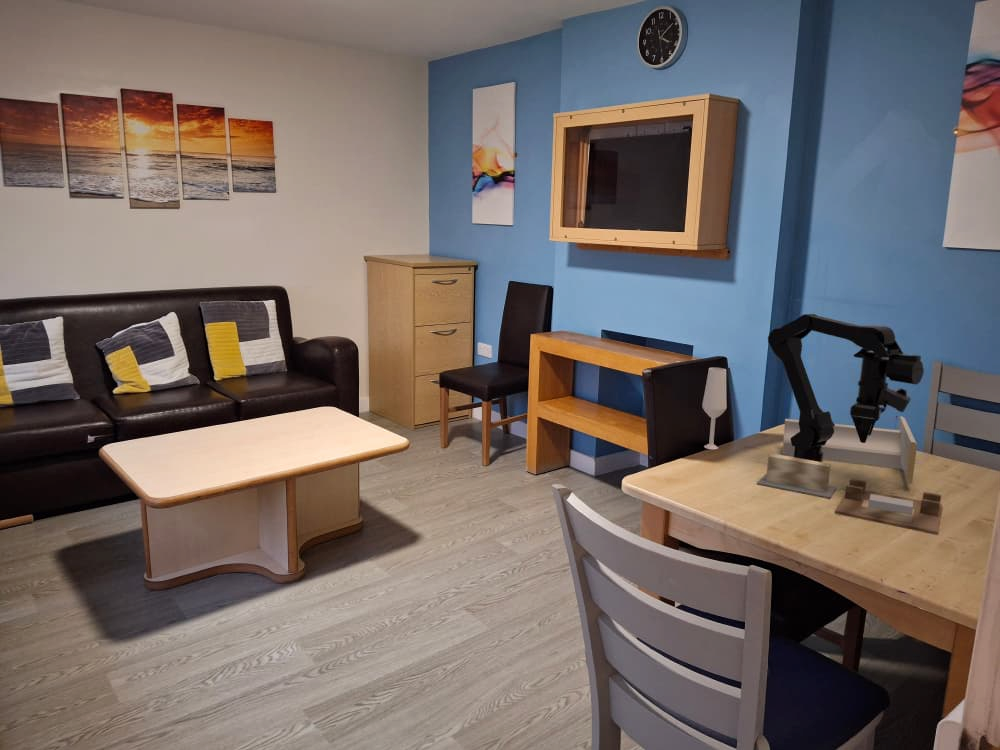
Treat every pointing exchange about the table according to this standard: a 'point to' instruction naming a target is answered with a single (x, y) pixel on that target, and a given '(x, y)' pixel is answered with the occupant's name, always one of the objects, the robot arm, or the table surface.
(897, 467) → the crown molding
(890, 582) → the table surface
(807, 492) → the slate mat
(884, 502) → the offcut upper
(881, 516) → the offcut lower
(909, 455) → the baseboard
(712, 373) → the champagne flute
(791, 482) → the plywood sheet
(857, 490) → the offcut rack
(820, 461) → the robot arm
